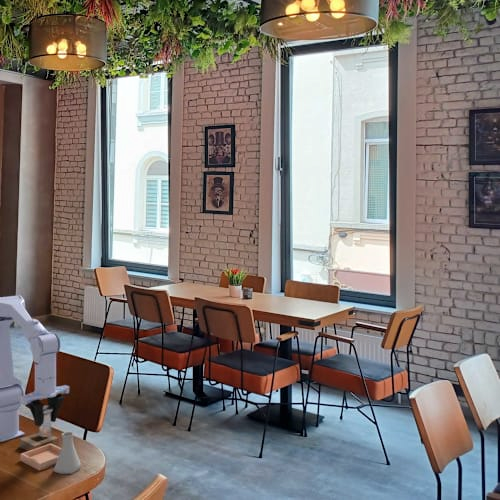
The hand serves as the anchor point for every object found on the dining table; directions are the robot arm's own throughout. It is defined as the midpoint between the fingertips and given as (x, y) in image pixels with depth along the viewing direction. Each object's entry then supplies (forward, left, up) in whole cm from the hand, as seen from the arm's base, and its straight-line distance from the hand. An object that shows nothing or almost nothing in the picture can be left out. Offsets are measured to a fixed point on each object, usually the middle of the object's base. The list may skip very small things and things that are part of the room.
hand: (45, 423), depth 162 cm
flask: (+10, +1, -11) cm, 15 cm away
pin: (0, 0, -3) cm, 3 cm away
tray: (+1, 0, -11) cm, 11 cm away
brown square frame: (-9, +4, -11) cm, 14 cm away
